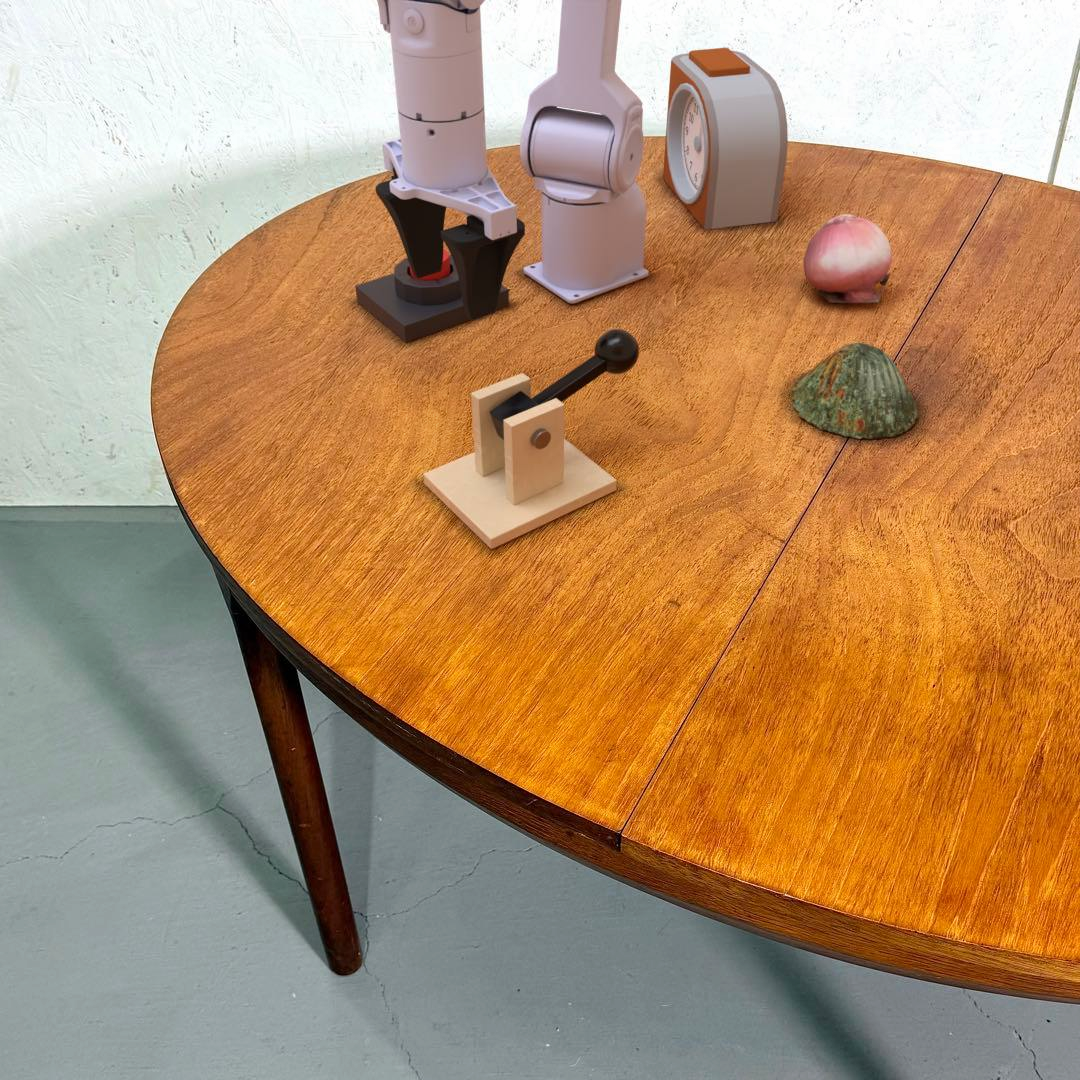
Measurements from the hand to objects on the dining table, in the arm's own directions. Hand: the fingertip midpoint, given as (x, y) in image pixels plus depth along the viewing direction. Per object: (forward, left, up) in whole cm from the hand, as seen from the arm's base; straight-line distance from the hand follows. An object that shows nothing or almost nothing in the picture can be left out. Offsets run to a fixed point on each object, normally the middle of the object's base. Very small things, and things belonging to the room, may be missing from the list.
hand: (453, 293), depth 79 cm
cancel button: (-7, -16, -7) cm, 19 cm away
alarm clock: (-44, -18, -10) cm, 49 cm away
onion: (-39, +5, -10) cm, 41 cm away
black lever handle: (-3, +11, -5) cm, 12 cm away
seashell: (-26, +18, -10) cm, 33 cm away
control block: (-7, -16, -10) cm, 20 cm away
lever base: (+2, +11, -10) cm, 15 cm away
